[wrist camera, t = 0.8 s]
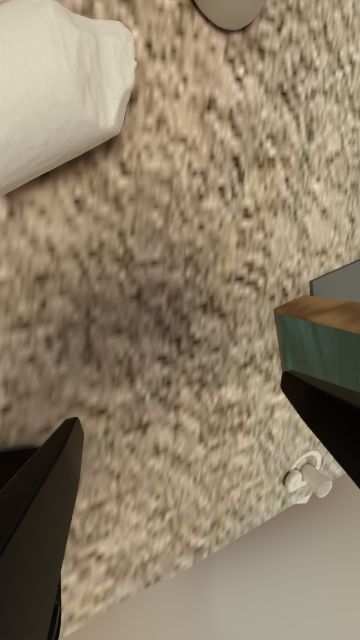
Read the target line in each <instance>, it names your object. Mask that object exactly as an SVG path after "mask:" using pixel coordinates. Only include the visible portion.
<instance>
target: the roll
mask: <svg viewBox="0 0 360 640" xmlns="http://www.w3.org/2000/svg"><path fill="white" fill-rule="evenodd" d="M134 50H135V47H134V38H133V36H132V34H131V32H130V31H129V30H128V29H127V28H126V27H125V26H124V25H123V24H122V23H121V22H119V21H112V20H108V19H107V20H102V19H96V20H92V19H89V18H87V17H84V16H81V15H78V14H75V13H72V12H71V11H69V10H68V9H67V8H65V7H64V6H62V5H61V4H59V3H58V2H57V1H55V0H10V1H8V2H6V3H3V4H0V197H1V196H3V195H5V194H7V193H9V192H11V191H12V190H14V189H16V188H18V187H20V186H21V185H23V184H25V183H27V182H28V181H30V180H32V179H34V178H36V177H38V176H40V175H42V174H44V173H46V172H48V171H50V170H52V169H54V168H56V167H58V166H60V165H62V164H63V163H65V162H67V161H70V160H71V159H73V158H75V157H77V156H80V155H81V154H83V153H85V152H86V151H88V150H90V149H92V148H94V147H96V146H98V145H100V144H102V143H103V142H105V141H107V140H109V139H110V138H112V137H114V136H116V135H118V134H119V133H120V131H121V128H122V124H123V122H124V115H125V112H126V106H127V104H128V102H129V98H130V95H131V92H132V90H133V87H134V84H135V74H134V72H135V68H136V66H137V62H136V61H135V60H134V59H135V52H134Z"/></svg>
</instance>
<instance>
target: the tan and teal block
mask: <svg viewBox="0 0 360 640" xmlns="http://www.w3.org/2000/svg"><path fill="white" fill-rule="evenodd" d="M274 316H275V323H276V330H277V337H278V344H279V351H280V358H281V365H282V372H283V371H286V370H295V371H298V372H301V373H304V374H307V375H310V376H313V377H316V378H318V379H321V380H324V381H327V382H330V383H333V384H336V385H339V386H342V387H345V388H348V389H351V390H354V391H357V392H360V302H353V301H345V300H338V299H330V298H323V297H315V296H307V295H303V296H301V297H299V298H297V299H295V300H293V301H290V302H288V303H286V304H284V305H282V306H279V307H277V308H275V309H274Z"/></svg>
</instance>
